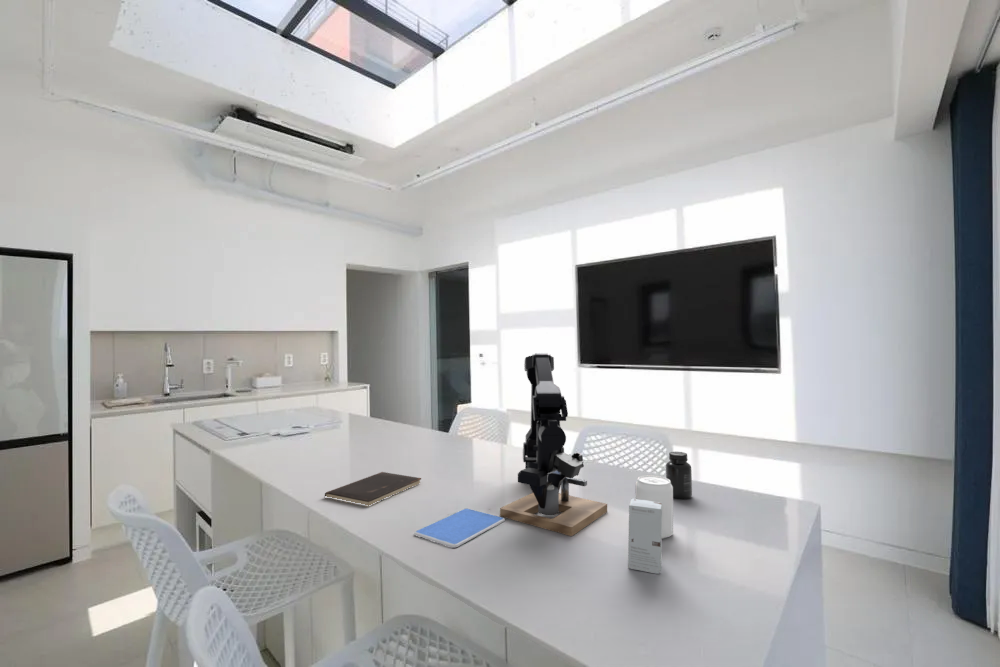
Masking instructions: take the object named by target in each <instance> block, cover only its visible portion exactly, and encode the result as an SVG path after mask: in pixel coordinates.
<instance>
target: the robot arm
mask: <svg viewBox="0 0 1000 667" xmlns="http://www.w3.org/2000/svg"><path fill="white" fill-rule="evenodd" d="M554 359H555V358H554V356H551V354H550V353H548V352H544V353H543V352H541V353H540V352H539V353H537V352H536V353H532V355H528V356H526V357H525V358H524V364H523V365H524V372H526V377H527V380H528V382H529V383H530V384H531V385H530V386H531V387H530V388H531V390H530V391H531V392H530V393H531V394H530V395H531V397H530V428H529V430H528V432H526V434H525V442H523V443H522V444H523V446H522V461H523V463H525V468H524V469H521V470H520V471H519V472H517V483H518V484H519V483H520V484H524V485H528V486H529V487H530V489H531V491H532V493H534V495H535V497H536V499H537V502H538V504H539V506H540V508H543V509H544V508H545V504H546V494H547V487H548V486H549V485H553V486H555V487H557V488H558V489H559V491H561V483H562V481H563V480H564V479H565V478H566V477H568V478H575V477H577V476H579V475H580V471H581V469H582V468H584V466H585V465H584V459H583V454H582V453H580V452H579V451H576V452H574V453H573V454H571V453H569V454H567V453H565V448H564V446H565V444H566V442H567V436H566V433H565V431H564V430H563V428H562V427H561V422H566V421H567V418H568V416H569V413H568V412H569V411H568V407H567V400H566V399H565V396H564V395H562V392H561V388H560V387H559V386H558V385H557V384H555V383H554V377H553V371H554V369H555V361H554Z"/></svg>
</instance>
